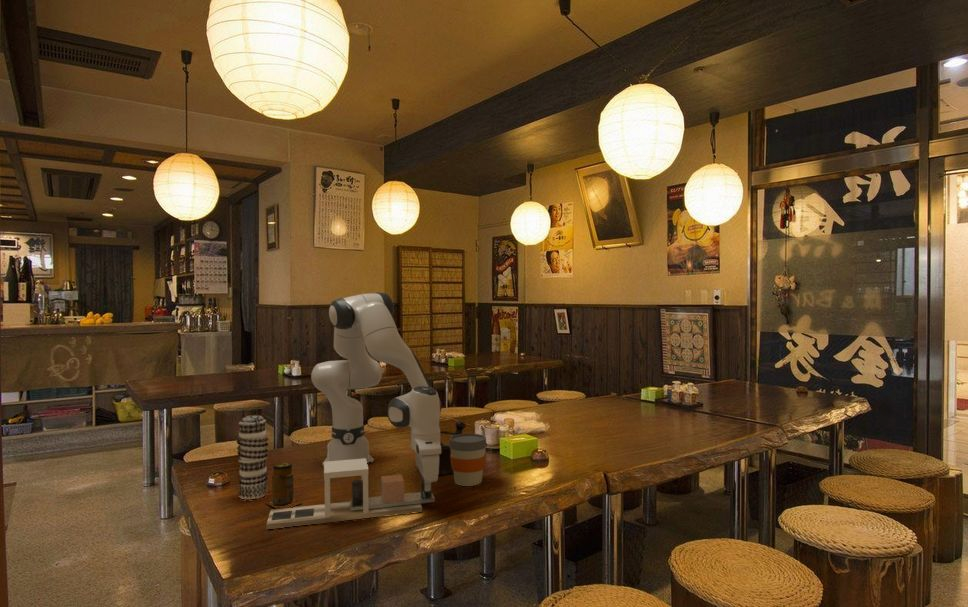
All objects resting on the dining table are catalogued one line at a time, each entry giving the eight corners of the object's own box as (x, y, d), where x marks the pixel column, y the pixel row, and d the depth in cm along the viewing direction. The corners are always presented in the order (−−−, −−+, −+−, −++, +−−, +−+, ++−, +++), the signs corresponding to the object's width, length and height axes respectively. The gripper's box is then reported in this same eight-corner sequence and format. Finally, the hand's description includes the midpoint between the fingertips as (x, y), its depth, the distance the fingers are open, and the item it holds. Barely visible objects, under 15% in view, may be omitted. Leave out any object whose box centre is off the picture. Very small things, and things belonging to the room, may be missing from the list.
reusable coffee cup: (466, 474, 194) (466, 431, 194) (494, 481, 186) (494, 436, 186) (441, 483, 184) (441, 438, 184) (470, 491, 176) (469, 444, 176)
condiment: (288, 498, 173) (287, 459, 173) (302, 504, 167) (301, 465, 167) (265, 504, 167) (265, 465, 167) (279, 511, 161) (278, 470, 161)
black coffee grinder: (427, 478, 190) (426, 426, 190) (416, 470, 200) (415, 420, 200) (468, 472, 197) (467, 421, 197) (455, 463, 207) (455, 415, 206)
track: (270, 515, 159) (270, 509, 159) (416, 499, 170) (416, 494, 170) (266, 530, 148) (266, 524, 148) (422, 512, 160) (422, 507, 160)
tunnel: (325, 504, 163) (324, 461, 163) (366, 499, 166) (366, 458, 166) (324, 518, 152) (323, 472, 152) (369, 513, 156) (368, 468, 155)
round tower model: (232, 495, 175) (231, 417, 175) (261, 488, 181) (260, 412, 181) (244, 503, 168) (242, 421, 168) (273, 495, 175) (272, 416, 175)
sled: (350, 502, 163) (350, 479, 163) (431, 494, 169) (430, 471, 169) (351, 510, 156) (350, 486, 156) (434, 501, 163) (434, 478, 163)
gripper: (410, 434, 174) (410, 478, 175) (420, 451, 155) (420, 500, 155) (430, 432, 176) (430, 476, 176) (442, 449, 156) (443, 498, 157)
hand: (426, 488), depth 165 cm, fingers closed on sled, 3 cm apart
